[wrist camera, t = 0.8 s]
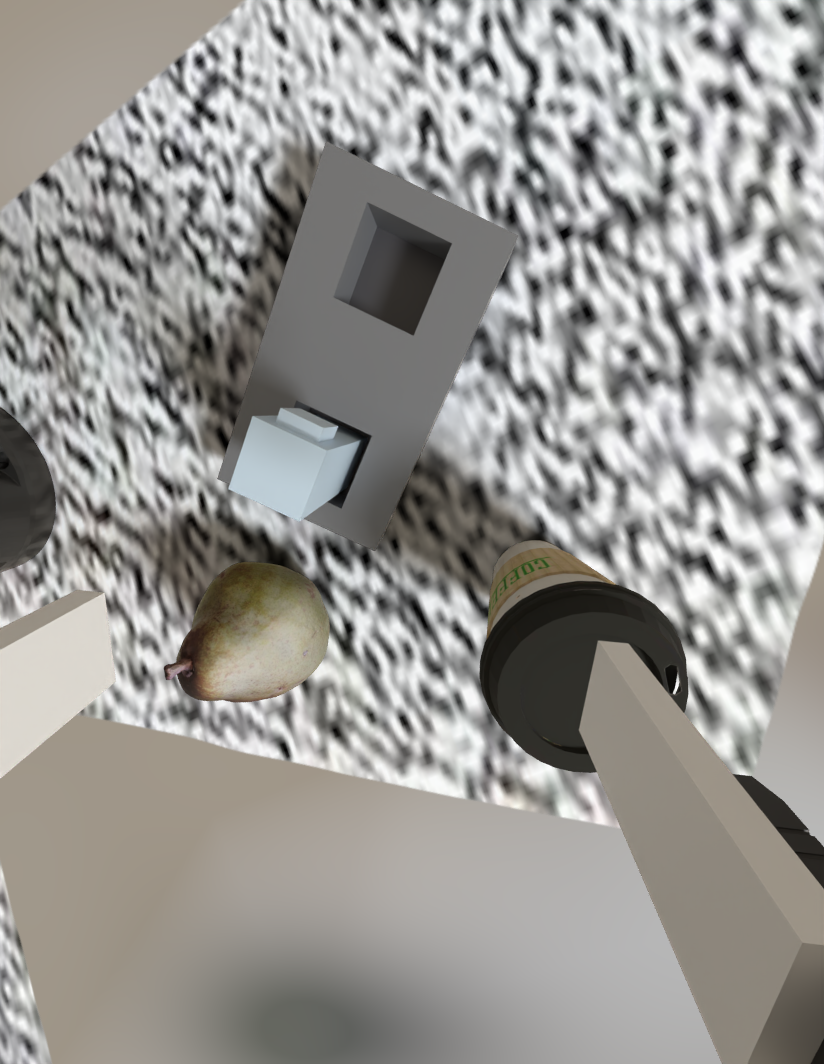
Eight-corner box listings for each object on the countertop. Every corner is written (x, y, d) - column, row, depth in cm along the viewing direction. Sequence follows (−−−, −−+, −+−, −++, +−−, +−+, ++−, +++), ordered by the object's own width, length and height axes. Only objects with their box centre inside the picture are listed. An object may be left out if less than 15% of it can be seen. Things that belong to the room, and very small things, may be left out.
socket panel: (243, 471, 34) (217, 478, 30) (343, 178, 28) (326, 141, 25) (383, 535, 35) (375, 551, 31) (509, 259, 29) (518, 235, 25)
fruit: (222, 548, 36) (115, 612, 25) (333, 541, 35) (275, 604, 24) (245, 659, 39) (158, 764, 27) (349, 655, 38) (305, 762, 26)
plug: (299, 464, 33) (228, 488, 23) (321, 404, 32) (257, 400, 21) (347, 487, 33) (299, 521, 23) (372, 428, 32) (332, 435, 21)
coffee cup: (454, 536, 34) (457, 626, 20) (583, 501, 33) (687, 572, 18) (487, 646, 36) (510, 799, 22) (608, 618, 35) (719, 764, 20)
